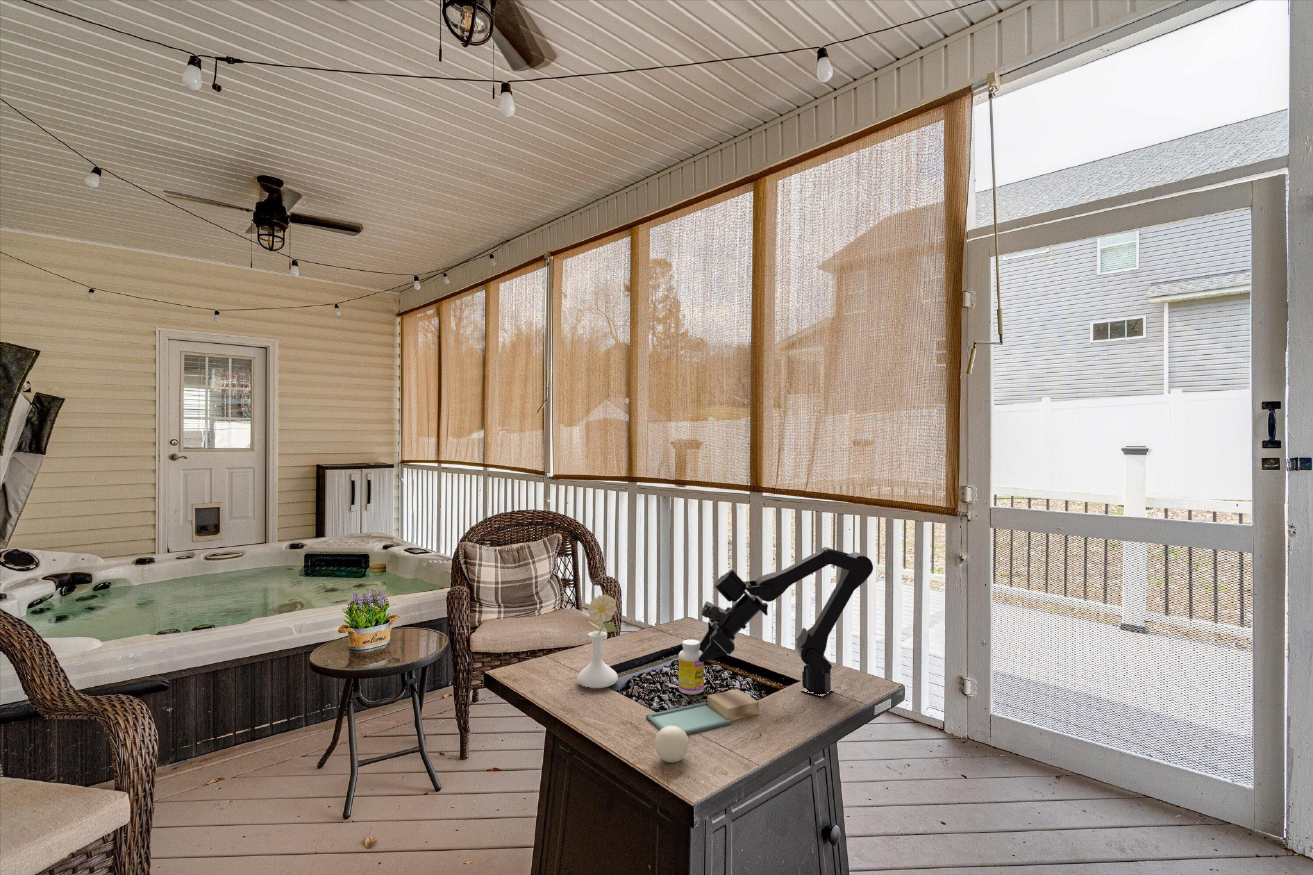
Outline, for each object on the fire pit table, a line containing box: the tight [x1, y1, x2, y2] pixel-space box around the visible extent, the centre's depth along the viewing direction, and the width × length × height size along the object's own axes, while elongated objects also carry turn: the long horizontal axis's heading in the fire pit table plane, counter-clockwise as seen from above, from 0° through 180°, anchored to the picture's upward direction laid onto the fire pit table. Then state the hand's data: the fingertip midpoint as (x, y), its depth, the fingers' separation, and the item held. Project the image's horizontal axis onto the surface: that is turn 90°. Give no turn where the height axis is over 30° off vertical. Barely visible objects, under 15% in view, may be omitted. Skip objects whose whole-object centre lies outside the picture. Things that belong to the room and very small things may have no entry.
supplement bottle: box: [678, 639, 705, 696], centre depth 164 cm, size 7×7×13 cm
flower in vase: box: [576, 593, 619, 689], centre depth 168 cm, size 13×11×25 cm
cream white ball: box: [654, 726, 690, 763], centre depth 127 cm, size 7×7×7 cm
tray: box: [645, 702, 731, 736], centre depth 145 cm, size 16×12×1 cm
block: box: [706, 688, 760, 722], centre depth 151 cm, size 9×9×3 cm
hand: (699, 655), depth 164 cm, fingers open, 9 cm apart
